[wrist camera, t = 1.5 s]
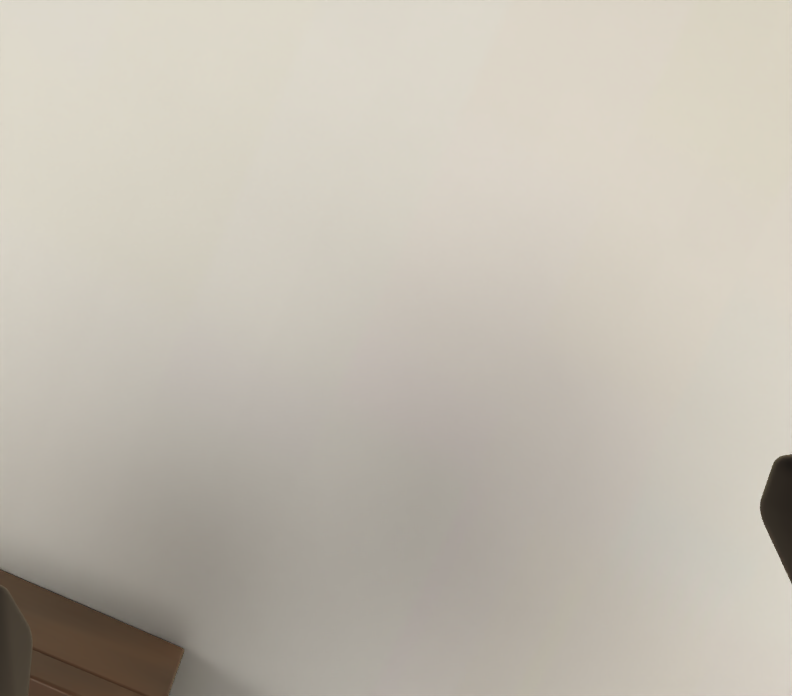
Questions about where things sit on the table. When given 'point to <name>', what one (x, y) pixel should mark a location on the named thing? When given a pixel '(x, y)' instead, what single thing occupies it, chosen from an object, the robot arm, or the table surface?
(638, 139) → the table surface
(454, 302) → the table surface
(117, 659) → the desk shelf
